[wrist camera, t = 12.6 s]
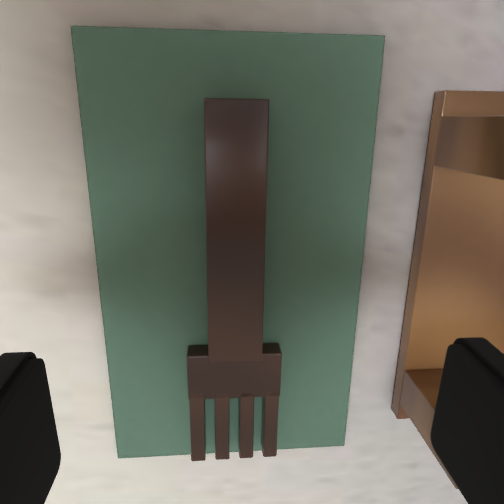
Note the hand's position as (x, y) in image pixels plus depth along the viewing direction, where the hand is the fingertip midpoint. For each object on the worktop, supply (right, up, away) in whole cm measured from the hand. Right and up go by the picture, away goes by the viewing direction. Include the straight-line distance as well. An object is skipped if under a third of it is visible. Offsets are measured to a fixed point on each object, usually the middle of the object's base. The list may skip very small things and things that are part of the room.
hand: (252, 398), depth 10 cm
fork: (-1, +1, +10) cm, 10 cm away
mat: (-1, +2, +9) cm, 10 cm away
